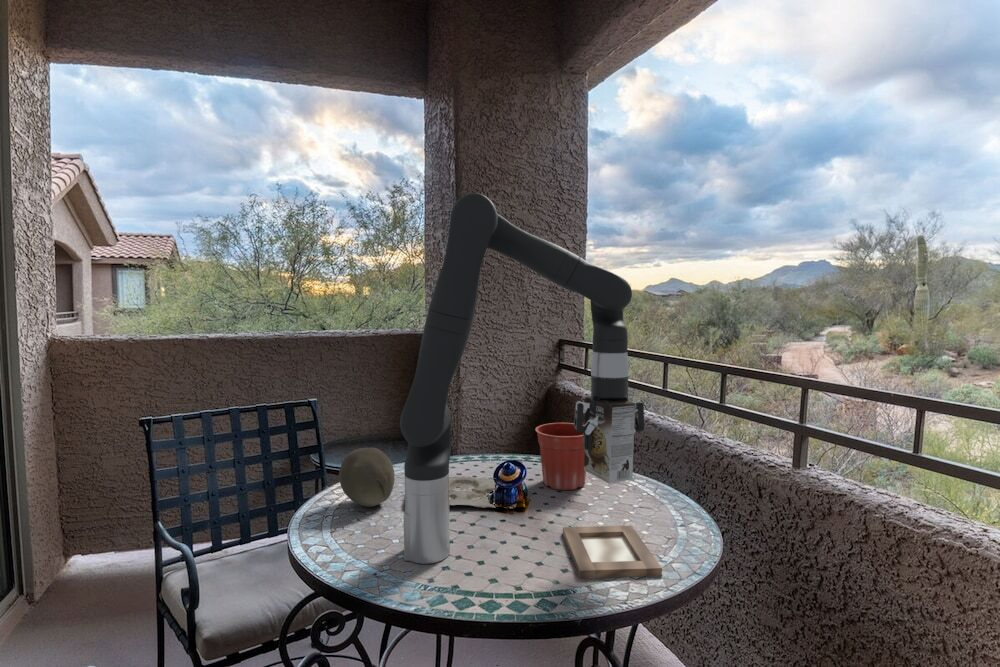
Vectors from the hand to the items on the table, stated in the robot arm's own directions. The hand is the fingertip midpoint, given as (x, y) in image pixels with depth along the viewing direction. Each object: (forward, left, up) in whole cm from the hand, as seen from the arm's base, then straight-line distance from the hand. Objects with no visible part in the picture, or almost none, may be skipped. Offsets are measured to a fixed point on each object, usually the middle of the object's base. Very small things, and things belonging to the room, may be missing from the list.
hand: (608, 451), depth 107 cm
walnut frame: (0, 0, -22) cm, 22 cm away
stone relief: (-30, +34, -22) cm, 51 cm away
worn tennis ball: (-56, +29, -22) cm, 67 cm away
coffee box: (0, 0, -5) cm, 5 cm away
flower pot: (-2, +42, -22) cm, 48 cm away
